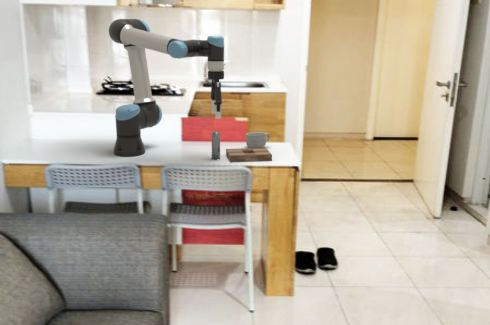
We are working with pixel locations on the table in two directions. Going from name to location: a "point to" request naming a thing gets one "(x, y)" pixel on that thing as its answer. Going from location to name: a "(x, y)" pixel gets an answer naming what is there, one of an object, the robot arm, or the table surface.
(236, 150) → the socket block
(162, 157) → the table surface
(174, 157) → the table surface
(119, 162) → the table surface
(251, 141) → the teacup
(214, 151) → the peg
